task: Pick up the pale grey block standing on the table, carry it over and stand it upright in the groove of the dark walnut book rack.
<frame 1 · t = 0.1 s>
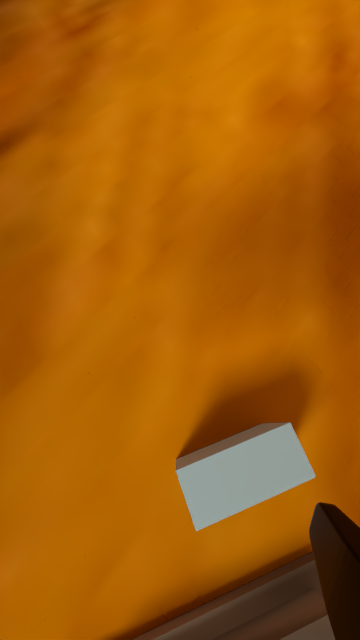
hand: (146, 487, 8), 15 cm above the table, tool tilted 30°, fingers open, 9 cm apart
pale grey block: (228, 461, 22), on the table
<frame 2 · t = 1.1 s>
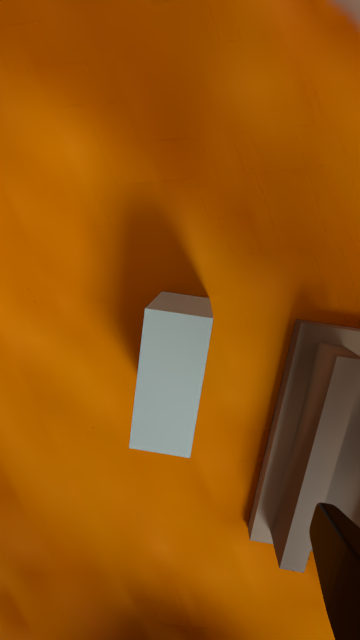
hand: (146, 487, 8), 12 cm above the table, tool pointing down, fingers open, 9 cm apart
pale grey block: (178, 347, 20), on the table
book rack: (343, 444, 20), on the table
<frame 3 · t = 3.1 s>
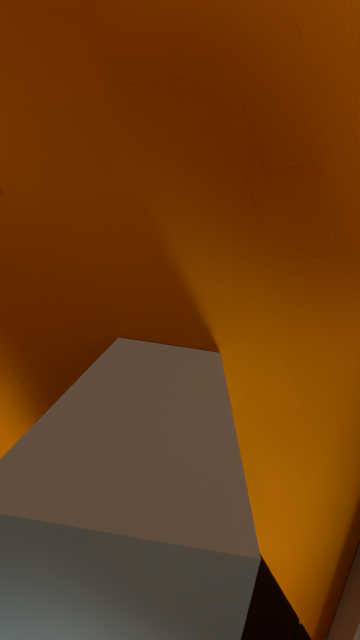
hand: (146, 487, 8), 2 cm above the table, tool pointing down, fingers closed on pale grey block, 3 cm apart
pale grey block: (154, 449, 10), on the table, touching gripper
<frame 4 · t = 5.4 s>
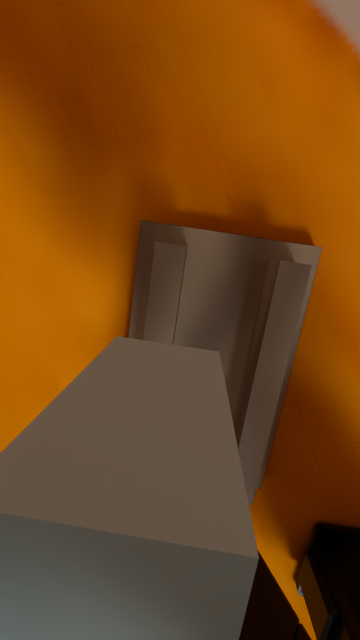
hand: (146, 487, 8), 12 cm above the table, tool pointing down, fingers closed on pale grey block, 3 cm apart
pale grey block: (154, 448, 9), point 10 cm above the table, touching gripper
book rack: (206, 362, 19), on the table
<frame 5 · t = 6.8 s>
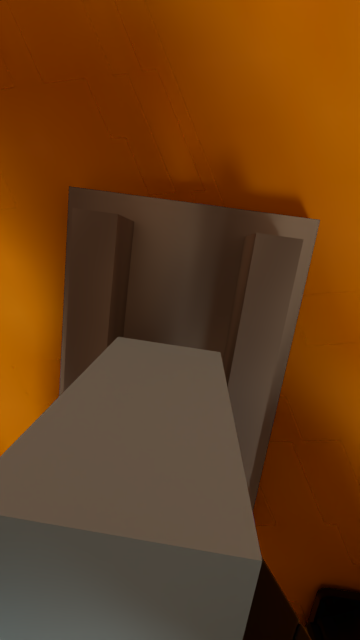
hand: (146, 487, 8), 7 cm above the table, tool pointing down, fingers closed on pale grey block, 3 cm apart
pale grey block: (154, 449, 9), point 5 cm above the table, touching gripper
book rack: (169, 378, 15), on the table
when the fingers open (4 cm above the table, at t = 8.0 s): pale grey block drops 2 cm, resting on book rack.
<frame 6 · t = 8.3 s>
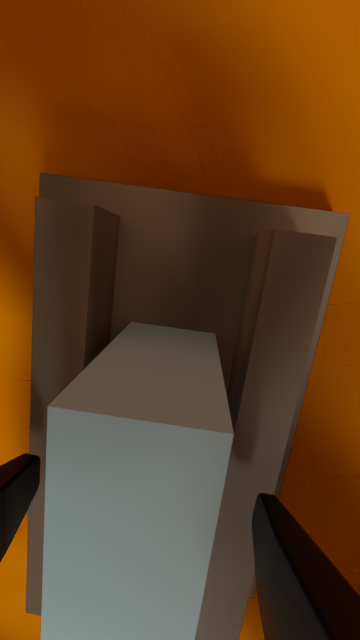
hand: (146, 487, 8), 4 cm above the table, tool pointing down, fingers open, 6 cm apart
pale grey block: (161, 416, 11), point 1 cm above the table, touching book rack
book rack: (165, 403, 12), on the table
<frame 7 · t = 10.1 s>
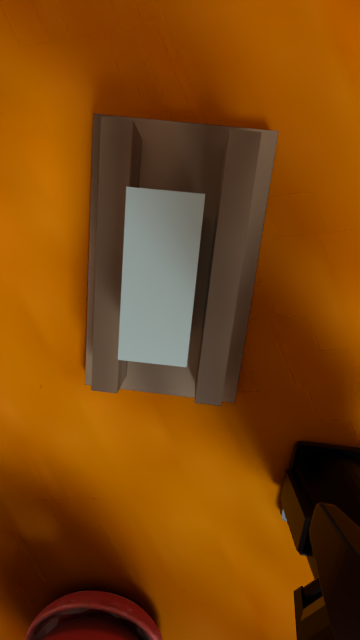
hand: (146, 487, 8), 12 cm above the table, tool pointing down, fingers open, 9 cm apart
pale grey block: (170, 271, 18), point 1 cm above the table, touching book rack
book rack: (172, 270, 19), on the table
plant pot: (104, 627, 27), on the table
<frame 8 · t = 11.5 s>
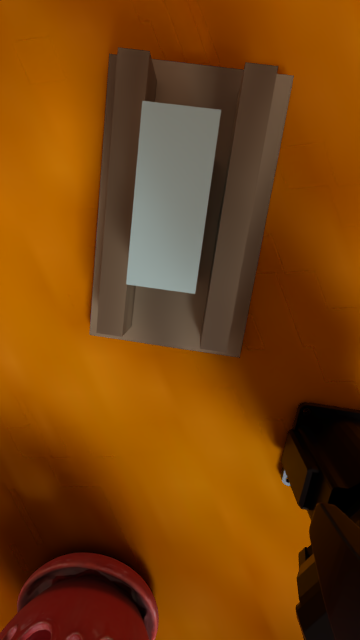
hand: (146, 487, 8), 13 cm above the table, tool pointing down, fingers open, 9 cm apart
pale grey block: (180, 219, 18), point 1 cm above the table, touching book rack
book rack: (181, 221, 19), on the table
plant pot: (98, 593, 26), on the table
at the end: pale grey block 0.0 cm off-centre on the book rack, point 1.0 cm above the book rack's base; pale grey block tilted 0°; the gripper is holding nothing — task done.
